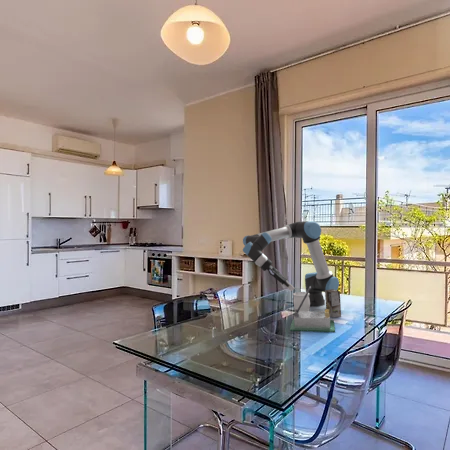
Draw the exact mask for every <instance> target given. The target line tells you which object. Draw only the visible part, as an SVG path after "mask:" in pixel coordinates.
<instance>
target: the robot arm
mask: <svg viewBox="0 0 450 450" xmlns="http://www.w3.org/2000/svg"><path fill="white" fill-rule="evenodd" d="M321 235H322V228H321V225H320V224H319V223H318V221H313V220H307V221H306V220H305V221H303V220H302V221H296V222H291V223H290V224H285V225H283V227H280V228H275V229H272V230H267V231H264V232H260V233H255V234H251V235H248V234H247V235H246V236H244V237H243V238H242V243H243V245H244V247H242V252H243V253H244V254H245V255H246V257H248V258H250V260H251V261H253V262H254V264H255V266H258V267H259V268H260V269H261V270H262V271H263V272H266V271H268V274H270V276H272V277H273V278H274V279H276V280H277V281H278V282H279V283H280V284H281V285H284V286H285V287H286V288H287V289H288V290H289V291H290V292H293V291H294V289H295V287H294V286H293V285H292V283H290V281H288V278H287V277H285V276H284V275H283V274H282V273H281V272H280V271H279V270H278V269H277V268H276V267H275V266H272V264H273V262H272V260H270V258H268V257H267V256H266V255H265V254H264V253H263V251H264V250H265V249H266V248H267V247H268V245H270V243H271V242H274V241H279V240H283V239H291V238H292V239H302V241H303V243H304V244H306V245H307V250H308V252H309V254H310V258H311V261H312V263H313V265H314V268H315V272H308V273H307V272H306V274H305V275H304V284H305V292H307V291H308V289H309V287H310V286H311V289H310V291H309V299H310V307H318V306H319V307H320V306H325V305H326V300H325V296H324V295H323V293H325V290H330V289H334V290H337V291H338V289H339V286H340V282H339V281H340V280H339V278H338V277H336V276H334V274H333V271H331V270H330V269H329V265H328V263H327V260H326V258H325V255H324V252H323V249H322V246H321V242H320V240H321Z"/></svg>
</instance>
